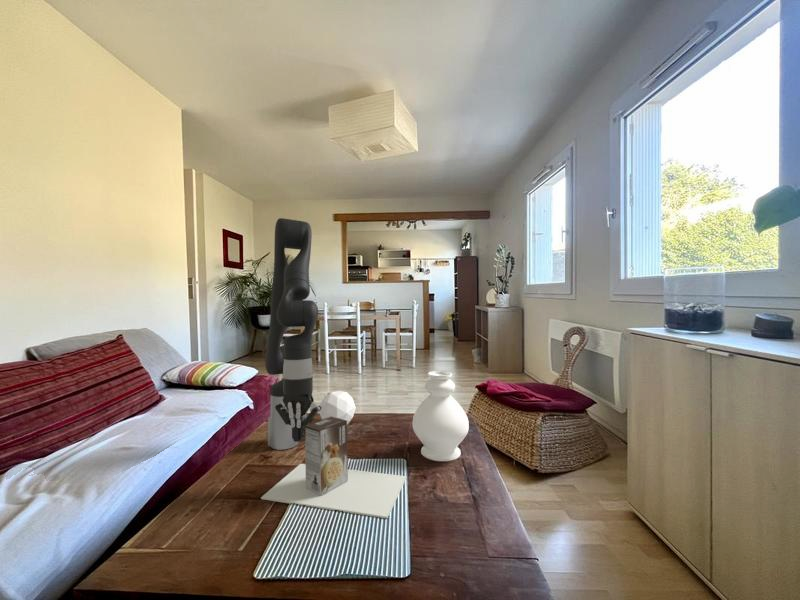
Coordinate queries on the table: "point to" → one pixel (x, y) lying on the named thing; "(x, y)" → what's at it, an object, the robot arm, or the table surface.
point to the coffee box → (326, 455)
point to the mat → (342, 492)
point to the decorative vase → (440, 419)
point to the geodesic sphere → (337, 406)
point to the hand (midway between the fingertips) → (298, 440)
